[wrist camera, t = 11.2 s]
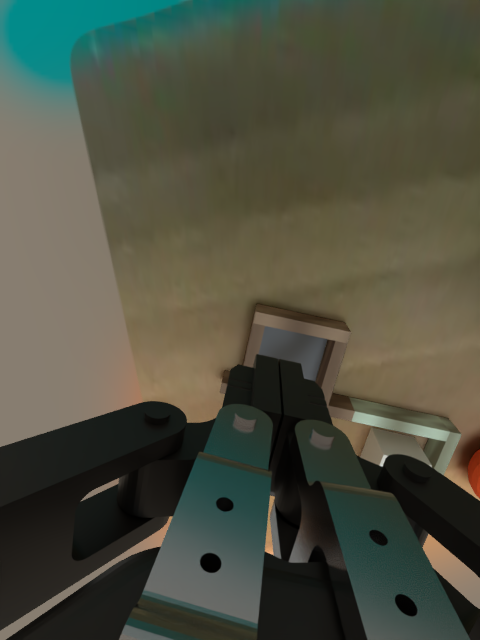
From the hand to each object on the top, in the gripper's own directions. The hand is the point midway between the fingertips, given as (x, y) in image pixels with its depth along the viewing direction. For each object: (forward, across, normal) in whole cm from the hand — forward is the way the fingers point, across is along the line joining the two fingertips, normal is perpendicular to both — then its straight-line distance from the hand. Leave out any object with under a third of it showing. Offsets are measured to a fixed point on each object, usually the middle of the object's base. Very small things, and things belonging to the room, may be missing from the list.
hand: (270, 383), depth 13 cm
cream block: (+27, -18, +18) cm, 37 cm away
